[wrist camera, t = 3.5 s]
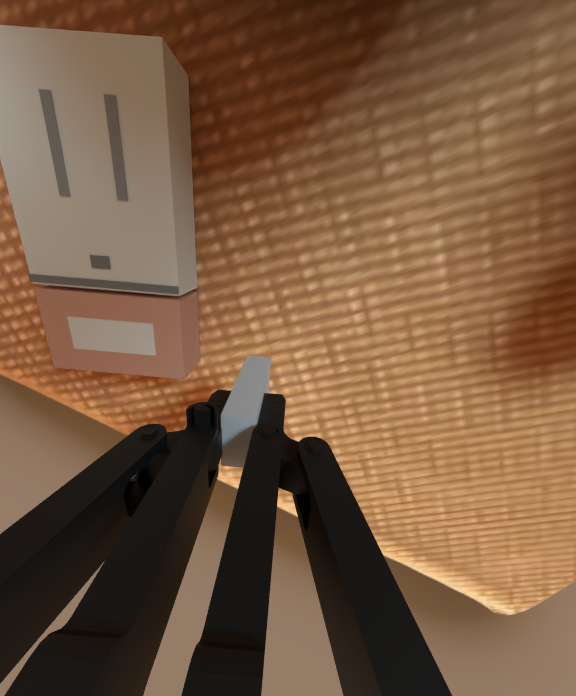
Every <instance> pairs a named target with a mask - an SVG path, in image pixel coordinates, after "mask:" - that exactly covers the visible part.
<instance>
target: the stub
mask: <svg viewBox="0 0 576 696" xmlns="http://www.w3.org/2000/svg"><path fill="white" fill-rule="evenodd" d="M34 292H35V296H36V300H37V304H38V308H39V311H40V315H41V319H42V323H43V327H44V331H45V335H46V339H47V343H48V346H49V350H50V354H51V358H52V362H53V366H54V368H62V369H74V370H85V371H96V372H107V373H118V374H130V375H141V376H152V377H163V378H174V379H185V378H186V377H187V376H188V375H189V374H190V372H191V371H192V370H193V369H194V368H195V366H196V365H197V364H198V363H199V362H200V340H199V316H198V293H197V292H196V291H189V292H187V293H185V294H183V295H181V296H171V295H159V294H147V293H136V292H124V291H112V290H101V289H89V288H78V287H66V286H54V285H48V286H42V287H37V288H34Z"/></svg>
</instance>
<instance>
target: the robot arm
mask: <svg viewBox="0 0 576 696" xmlns="http://www.w3.org/2000/svg"><path fill="white" fill-rule="evenodd" d="M270 363H271V358H270V357H258V356H247V358H246V360H245V362H244V365H243V367H242V369H241V371H240V373H239V376H238V378H237V380H236V382H235V384H234V387H233V389H232V391H227V390H217V391H216V392H214V393H213V394H212V395H211V397H210V398H209V401H208V402H200V403H195V404H193V405H191V406H189V407H188V408H187V409H186V414H187V427H186V428H185V430H182V431H176V432H168V433H167V431H166V428H165V427H164V426H162V425H160V424H149V425H145V426H142V427H140V428H138V429H136V430H135V431H134V432H132V433H131V434H130V435H128V436H127V437H126V438H125V439H123V440H122V441H121V442H119V443H118V444H117V445H115V446H114V447H113V448H112V449H110V450H109V451H108V452H106V453H105V454H104V455H102V456H101V457H100V458H99V459H97V460H96V461H95V462H93V463H92V464H91V465H89V466H88V467H87V468H86V469H84V470H83V471H82V472H80V473H79V474H78V475H76V476H75V477H74V478H73V479H71V480H70V481H69V482H67V483H66V484H65V485H64V486H62V487H61V488H60V489H59V490H57V491H56V492H54V493H53V494H52V495H51V496H49V497H48V498H47V499H46V500H44V501H43V502H42V503H40V504H39V505H38V506H36V507H35V508H34V509H32V510H31V511H30V512H28V513H27V514H26V515H25V516H23V517H22V518H21V519H19V520H18V521H17V522H16V523H14V524H13V525H12V526H10V527H9V528H8V529H6V530H5V531H4V532H3V533H1V534H0V683H1V682H2V681H3V680H4V679H5V677H6V676H7V675H8V674H9V673H10V671H11V670H12V669H13V668H14V667H15V666H16V664H17V663H18V662H19V661H20V660H21V658H22V657H23V656H24V655H25V654H26V653H27V651H28V650H29V649H30V648H31V647H32V646H33V644H34V643H35V642H36V641H37V640H38V638H39V637H40V636H41V635H42V634H43V633H44V632H45V630H46V629H47V628H48V627H49V625H50V624H51V623H52V622H53V621H54V620H55V619H56V617H57V616H58V615H59V614H60V613H61V612H62V610H63V609H64V608H65V607H66V606H67V604H68V603H69V602H70V601H71V600H72V599H73V597H74V596H75V595H76V594H77V593H78V591H79V590H80V589H81V588H82V587H83V586H84V585H85V583H86V582H87V581H88V580H89V579H90V577H91V576H92V575H93V574H94V573H95V571H96V570H97V569H98V568H99V567H100V566H101V564H102V563H103V562H104V561H105V562H104V564H103V565H102V567H101V569H100V571H99V572H98V573H97V575H96V577H95V578H94V580H93V582H92V583H91V585H90V587H89V588H88V590H87V592H86V593H85V595H84V597H83V598H82V600H81V602H80V603H79V605H78V607H77V608H76V610H75V612H74V613H73V615H72V617H71V618H70V619H69V621H68V622H67V623H66V624H65V626H63V627H62V629H59V630H57V631H54V632H52V633H50V634H49V635H48V636H47V637H46V638H45V639H43V640H42V641H41V642H40V644H39V645H38V647H37V648H36V649H35V650H34V652H33V653H32V655H31V656H30V657H29V659H28V660H27V662H26V663H25V665H24V667H23V668H22V670H21V671H20V673H19V674H18V676H17V677H16V679H15V680H14V682H13V683H12V685H11V687H10V688H9V690H8V691H7V693H6V694H5V696H143V694H144V691H145V687H146V684H147V681H148V678H149V675H150V673H151V669H152V667H153V664H154V660H155V658H156V655H157V652H158V649H159V646H160V643H161V640H162V637H163V634H164V632H165V629H166V626H167V623H168V620H169V617H170V614H171V611H172V608H173V605H174V602H175V600H176V597H177V593H178V590H179V588H180V585H181V582H182V579H183V576H184V573H185V570H186V567H187V564H188V562H189V558H190V556H191V553H192V550H193V547H194V544H195V541H196V538H197V535H198V532H199V529H200V526H201V524H202V521H203V517H204V515H205V512H206V509H207V506H208V503H209V500H210V497H211V494H212V491H213V489H214V485H215V482H216V480H217V477H218V471H219V466H218V465H219V462H220V459H221V466H232V467H244V468H243V472H242V476H241V480H240V484H239V488H238V492H237V496H236V500H235V504H234V509H233V513H232V517H231V521H230V525H229V529H228V533H227V537H226V541H225V545H224V549H223V553H222V557H221V561H220V565H219V569H218V573H217V577H216V581H215V585H214V589H213V593H212V597H211V601H210V605H209V609H208V614H207V618H206V622H205V626H204V629H203V633H202V637H201V639H200V641H199V643H198V644H197V645H196V647H195V650H194V652H193V656H192V658H191V662H190V665H189V669H188V673H187V677H186V681H185V684H184V688H183V692H182V696H261V689H262V678H263V666H264V654H265V642H266V630H267V618H268V605H269V593H270V582H271V570H272V558H273V546H274V535H275V522H276V510H277V499H278V487H279V488H281V489H284V490H286V491H289V492H291V493H293V499H294V503H295V507H296V511H297V515H298V519H299V523H300V526H301V530H302V534H303V538H304V542H305V546H306V550H307V554H308V558H309V562H310V565H311V569H312V574H313V577H314V582H315V585H316V589H317V593H318V597H319V601H320V605H321V609H322V613H323V617H324V621H325V625H326V629H327V633H328V637H329V640H330V644H331V648H332V652H333V656H334V660H335V664H336V668H337V672H338V676H339V680H340V684H341V688H342V691H343V695H344V696H452V694H451V693H450V690H449V689H448V686H447V684H446V682H445V680H444V678H443V676H442V674H441V672H440V670H439V668H438V666H437V664H436V662H435V660H434V658H433V656H432V654H431V652H430V650H429V648H428V646H427V644H426V642H425V640H424V638H423V635H422V633H421V631H420V629H419V627H418V625H417V623H416V621H415V619H414V617H413V615H412V613H411V611H410V609H409V607H408V605H407V603H406V601H405V599H404V597H403V595H402V593H401V591H400V589H399V587H398V585H397V583H396V581H395V578H394V576H393V574H392V573H391V570H390V568H389V566H388V564H387V562H386V560H385V558H384V556H383V554H382V552H381V550H380V548H379V546H378V544H377V542H376V540H375V538H374V536H373V534H372V532H371V530H370V528H369V526H368V524H367V522H366V520H365V517H364V515H363V513H362V511H361V509H360V507H359V505H358V503H357V501H356V499H355V497H354V495H353V493H352V491H351V489H350V487H349V485H348V483H347V481H346V479H345V477H344V475H343V473H342V471H341V469H340V467H339V465H338V463H337V461H336V458H335V456H334V454H333V452H332V450H331V448H330V446H329V445H328V444H327V442H326V441H324V440H322V439H320V438H317V437H306V438H303V439H302V440H300V442H298V441H295V440H292V439H290V438H289V437H288V436H287V435H286V434H285V433H284V429H283V427H284V414H285V402H286V400H285V398H284V397H283V395H281V394H269V379H270ZM135 475H136V476H135ZM133 476H135V477H134V478H132V477H133ZM131 478H132V479H131ZM130 479H131V480H130Z"/></svg>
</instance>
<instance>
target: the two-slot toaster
mask: <svg viewBox="0 0 576 696" xmlns="http://www.w3.org/2000/svg"><path fill="white" fill-rule="evenodd" d="M0 160H1V164H2V168H3V172H4V175H5V179H6V183H7V187H8V191H9V195H10V199H11V203H12V207H13V210H14V214H15V218H16V222H17V226H18V230H19V234H20V238H21V242H22V245H23V249H24V253H25V257H26V261H27V265H28V269H29V273H30V274H29V278H30V282H32V284H43V285H54V286H66V287H78V288H89V289H101V290H112V291H124V292H136V293H147V294H159V295H171V296H181V295H183V294H185V293H187V292H189V291H192V290H194V289H196V288H197V269H196V246H195V222H194V198H193V175H192V151H191V128H190V104H189V81H188V75H187V73H186V72H185V70H184V69H183V67H182V66H181V64H180V63H179V61H178V60H177V58H176V57H175V56H174V54H173V53H172V51H171V50H170V48H169V47H168V45H167V44H166V42H165V41H164V39H163V38H162V37H156V36H142V35H129V34H115V33H102V32H89V31H75V30H62V29H49V28H35V27H22V26H8V25H0Z"/></svg>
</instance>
